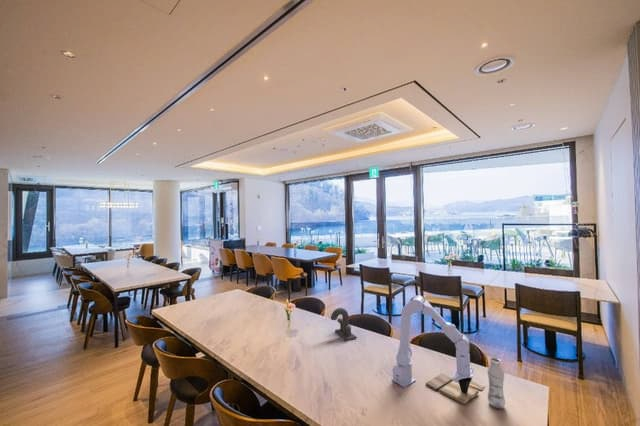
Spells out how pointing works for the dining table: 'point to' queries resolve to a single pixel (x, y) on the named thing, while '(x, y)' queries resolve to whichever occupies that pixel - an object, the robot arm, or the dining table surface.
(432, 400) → the dining table surface
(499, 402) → the plastic bottle
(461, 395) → the oak plank
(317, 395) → the dining table surface
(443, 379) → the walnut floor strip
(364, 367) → the dining table surface
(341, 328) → the faucet
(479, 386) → the plank
